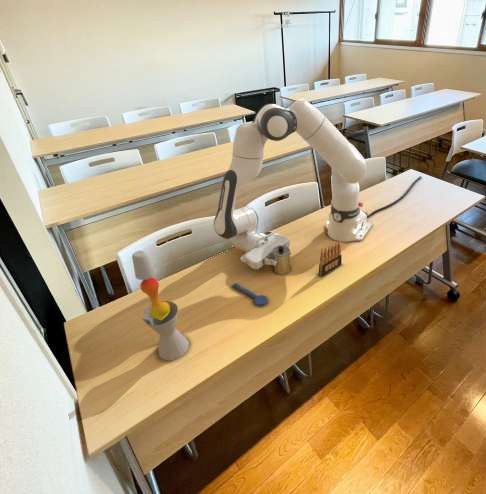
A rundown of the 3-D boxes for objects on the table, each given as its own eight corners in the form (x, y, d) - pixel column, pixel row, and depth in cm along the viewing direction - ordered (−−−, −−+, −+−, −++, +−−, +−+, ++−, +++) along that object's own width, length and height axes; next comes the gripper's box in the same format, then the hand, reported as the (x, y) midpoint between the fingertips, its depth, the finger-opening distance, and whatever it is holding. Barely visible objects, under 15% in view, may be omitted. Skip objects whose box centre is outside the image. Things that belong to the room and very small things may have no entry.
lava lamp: (151, 354, 98) (109, 259, 78) (172, 332, 105) (139, 239, 85) (175, 365, 95) (138, 268, 75) (195, 341, 102) (166, 247, 81)
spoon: (229, 288, 121) (229, 285, 120) (238, 282, 124) (238, 279, 123) (261, 308, 113) (260, 305, 112) (269, 300, 115) (269, 297, 115)
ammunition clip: (338, 262, 132) (339, 237, 126) (341, 264, 131) (343, 239, 124) (318, 274, 127) (318, 248, 120) (321, 276, 126) (322, 250, 119)
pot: (281, 261, 134) (280, 240, 128) (294, 268, 130) (293, 246, 124) (270, 270, 129) (268, 248, 123) (283, 276, 126) (281, 255, 120)
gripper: (236, 251, 125) (263, 265, 118) (273, 228, 138) (299, 239, 131) (239, 265, 128) (265, 279, 121) (274, 241, 141) (300, 252, 134)
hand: (283, 258), depth 126 cm, fingers closed on pot, 6 cm apart
